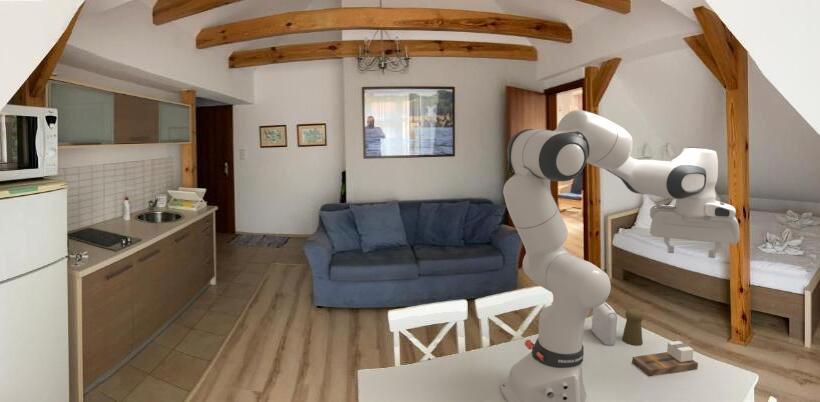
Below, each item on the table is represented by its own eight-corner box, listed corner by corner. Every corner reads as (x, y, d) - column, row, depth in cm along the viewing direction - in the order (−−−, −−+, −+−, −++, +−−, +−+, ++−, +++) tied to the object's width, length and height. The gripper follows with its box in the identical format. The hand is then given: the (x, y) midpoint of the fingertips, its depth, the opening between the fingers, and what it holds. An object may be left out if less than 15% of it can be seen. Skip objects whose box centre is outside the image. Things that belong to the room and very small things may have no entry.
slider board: (649, 376, 116) (650, 369, 115) (632, 362, 123) (632, 356, 122) (697, 369, 119) (698, 362, 118) (677, 356, 126) (678, 350, 125)
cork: (645, 346, 131) (648, 315, 129) (625, 345, 133) (627, 313, 131) (638, 337, 137) (641, 307, 135) (619, 335, 138) (621, 305, 136)
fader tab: (680, 362, 118) (681, 350, 118) (666, 352, 123) (668, 341, 123) (692, 360, 119) (693, 348, 118) (678, 351, 124) (679, 340, 123)
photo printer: (589, 330, 142) (591, 297, 140) (601, 330, 142) (604, 297, 140) (604, 346, 132) (606, 311, 130) (617, 345, 132) (619, 310, 130)
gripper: (649, 205, 113) (646, 252, 116) (743, 211, 102) (737, 264, 104) (651, 201, 118) (648, 246, 121) (741, 206, 107) (735, 256, 109)
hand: (690, 254), depth 113 cm, fingers open, 8 cm apart
